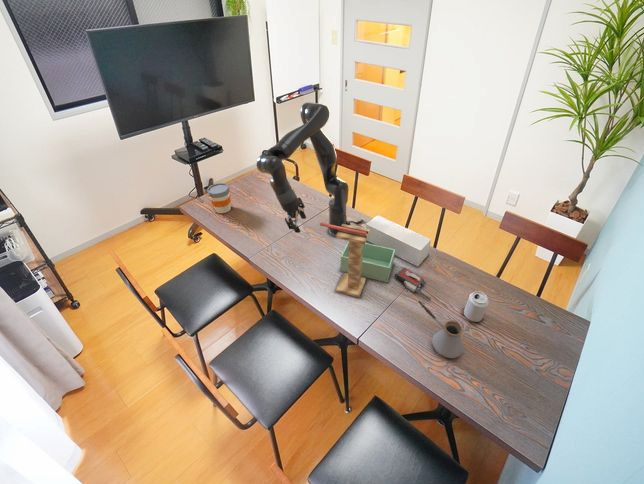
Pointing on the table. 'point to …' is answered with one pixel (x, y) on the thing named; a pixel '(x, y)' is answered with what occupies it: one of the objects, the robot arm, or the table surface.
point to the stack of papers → (398, 240)
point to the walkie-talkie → (411, 281)
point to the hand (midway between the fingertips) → (301, 225)
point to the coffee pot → (447, 338)
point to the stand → (353, 261)
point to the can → (476, 306)
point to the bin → (372, 261)
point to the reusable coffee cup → (220, 197)
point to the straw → (342, 228)
